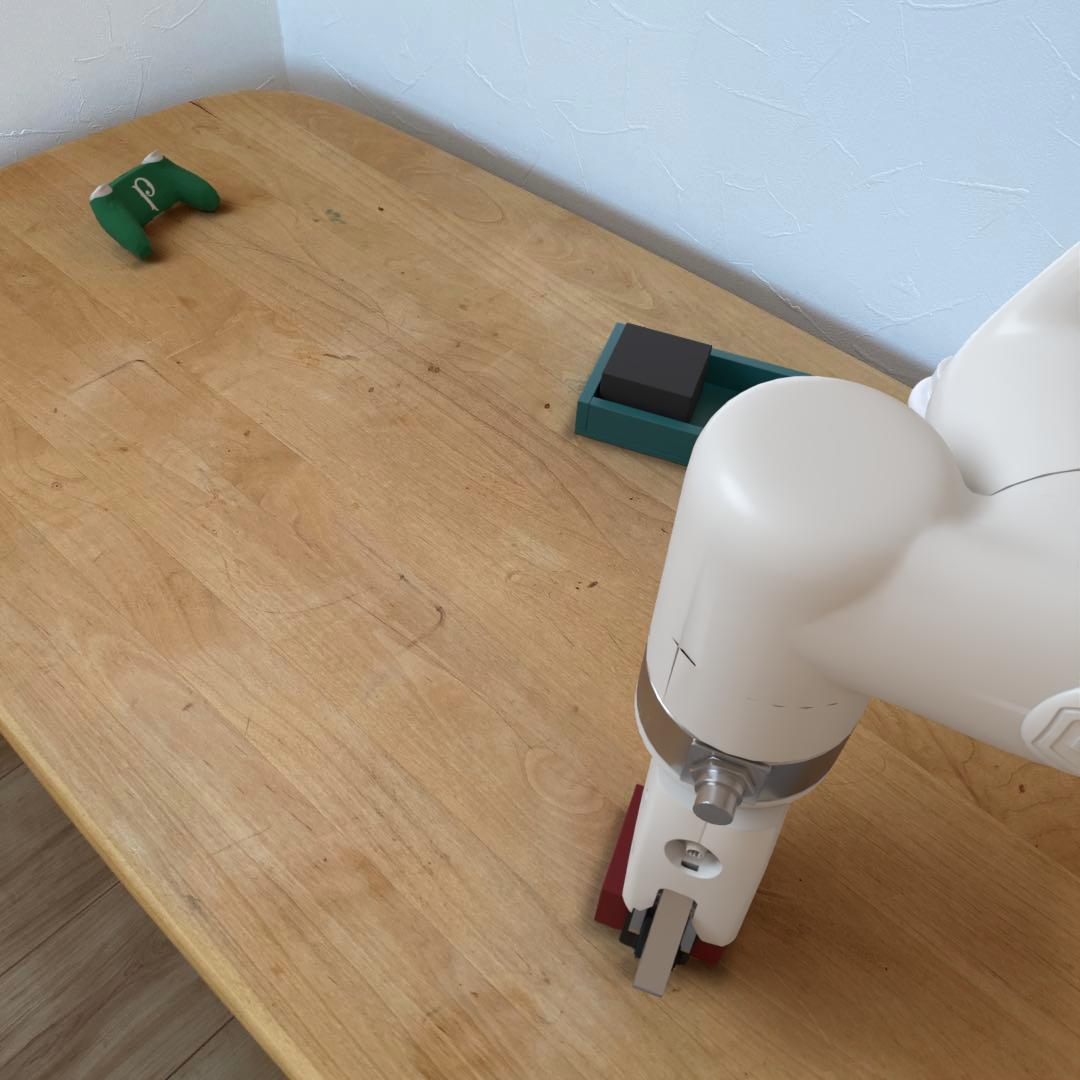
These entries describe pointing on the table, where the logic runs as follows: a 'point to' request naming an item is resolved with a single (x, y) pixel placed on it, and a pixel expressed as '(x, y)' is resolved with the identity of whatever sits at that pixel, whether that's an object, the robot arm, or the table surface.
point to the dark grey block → (656, 372)
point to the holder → (660, 432)
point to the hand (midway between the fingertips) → (671, 885)
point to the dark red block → (611, 898)
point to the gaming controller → (147, 199)
